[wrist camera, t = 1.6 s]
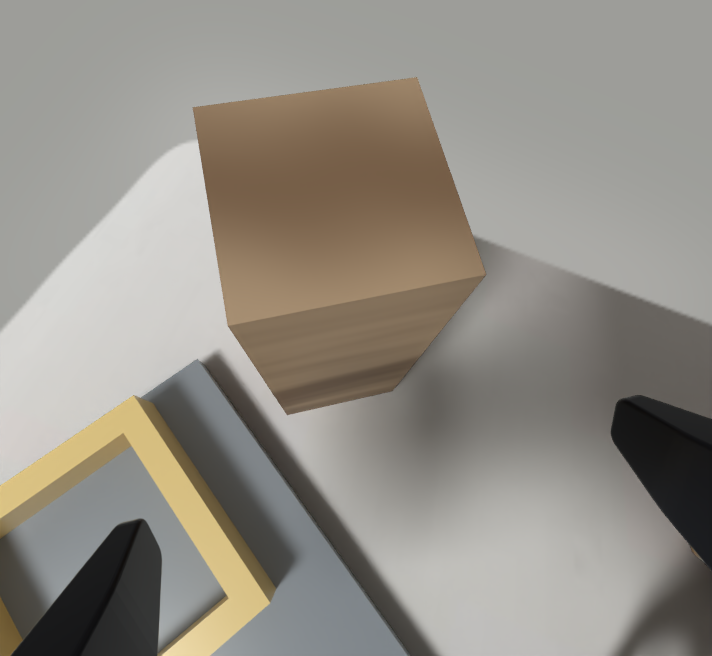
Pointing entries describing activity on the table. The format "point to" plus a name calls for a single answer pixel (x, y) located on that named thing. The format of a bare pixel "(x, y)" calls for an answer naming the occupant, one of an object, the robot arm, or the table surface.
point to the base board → (186, 532)
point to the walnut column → (335, 236)
